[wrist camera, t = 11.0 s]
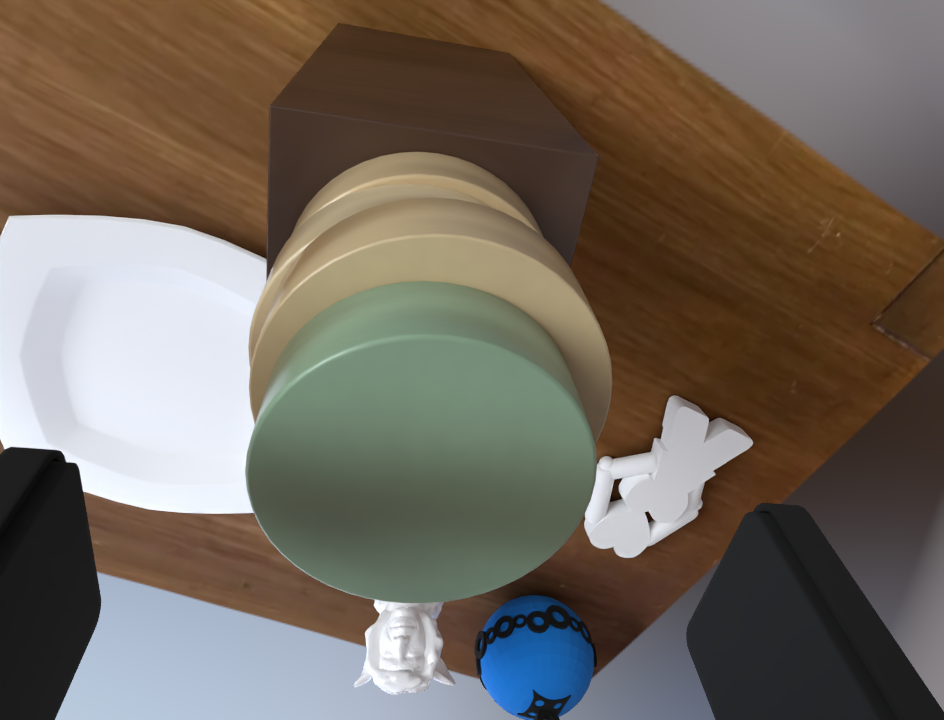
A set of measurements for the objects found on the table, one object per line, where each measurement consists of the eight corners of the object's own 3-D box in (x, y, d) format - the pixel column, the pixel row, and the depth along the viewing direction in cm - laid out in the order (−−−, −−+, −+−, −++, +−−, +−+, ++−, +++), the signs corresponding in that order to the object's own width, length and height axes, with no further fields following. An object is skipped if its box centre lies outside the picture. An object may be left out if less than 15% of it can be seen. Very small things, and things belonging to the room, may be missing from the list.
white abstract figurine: (552, 518, 48) (560, 539, 46) (654, 380, 44) (667, 396, 42) (651, 557, 50) (662, 578, 49) (754, 431, 47) (770, 449, 45)
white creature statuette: (471, 466, 45) (489, 619, 35) (483, 557, 50) (503, 715, 40) (328, 485, 45) (305, 644, 35) (354, 574, 50) (340, 738, 40)
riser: (338, 22, 31) (269, 104, 16) (509, 53, 32) (599, 156, 17) (327, 194, 35) (263, 390, 20) (480, 215, 36) (531, 415, 21)
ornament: (599, 579, 52) (636, 704, 44) (555, 649, 56) (581, 776, 48) (494, 559, 50) (511, 686, 42) (455, 633, 54) (464, 762, 46)
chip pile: (281, 120, 16) (222, 204, 11) (585, 166, 17) (659, 262, 12) (274, 382, 20) (228, 536, 15) (524, 406, 21) (561, 557, 16)
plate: (-15, 158, 33) (-37, 170, 31) (378, 263, 37) (377, 278, 36) (-7, 460, 42) (-24, 481, 40) (308, 515, 47) (304, 537, 45)
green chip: (268, 258, 12) (244, 314, 10) (610, 300, 12) (641, 358, 11) (263, 519, 15) (243, 597, 13) (537, 538, 15) (554, 612, 14)
